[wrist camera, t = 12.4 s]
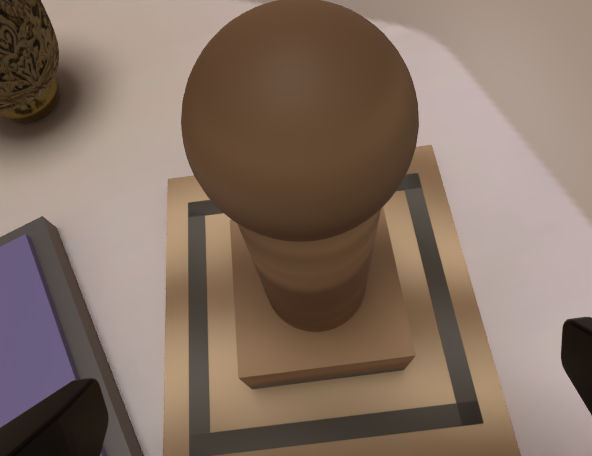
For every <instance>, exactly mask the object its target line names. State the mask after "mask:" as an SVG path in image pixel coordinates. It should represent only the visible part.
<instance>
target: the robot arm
mask: <svg viewBox="0 0 592 456" xmlns="http://www.w3.org/2000/svg"><path fill="white" fill-rule="evenodd" d="M561 361H562V365H563V368H564V370H565V372H566V373H567V375H568V377H569V378H570V380H571V382H572V383H573V385H574V387H575V388H576V390H577V392H578V393H579V395H580V397H581V398H582V400H583V402H584V403H585V405H586V406H587V408H588V410H589V411H590V413H591V415H592V318H591V317H581V318H573V319H568V320H566V321H565V322H564V324H563V331H562V347H561ZM108 422H109V415H108V410H107V407H106V403H105V400H104V397H103V394H102V390H101V387H100V384H99V382H98V381H97V379H95V378H84V379H76V380H73V381H71V382H70V383H68V384H66V385H65V386H63V387H62V388H60V389H59V390H57V391H56V392H54V393H53V394H51V395H50V396H48V397H47V398H45V399H43V400H42V401H40V402H39V403H37V404H36V405H34V406H33V407H31V408H30V409H28V410H27V411H25V412H23V413H22V414H20V415H19V416H17V417H16V418H14V419H13V420H11V421H10V422H8V423H7V424H5V425H3V426H2V427H0V456H100V454H101V450H102V447H103V443H104V439H105V435H106V431H107V428H108Z"/></svg>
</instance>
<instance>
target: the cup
mask: <svg viewBox="0 0 592 456" xmlns="http://www.w3.org/2000/svg"><path fill="white" fill-rule="evenodd" d="M58 59H59V50H58V43H57V39H56V35H55V32H54V29H53V27H52V24H51V22H50V19H49V17H48V15H47V13H46V11H45V8H44V6H43V4H42V2H41V0H0V116H1V117H3V118H5V119H8V120H11V121H14V122H30V121H34V120H37V119H39V118H41V117H43V116H44V115H46V114H47V113H49V112H50V111H51V110H52V109H53V107H54V106H55V105H56V103H57V101H58V98H59V84H58V80H57V77H56V76H55V73H56V70H57V67H58Z"/></svg>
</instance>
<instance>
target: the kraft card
mask: <svg viewBox="0 0 592 456" xmlns="http://www.w3.org/2000/svg"><path fill="white" fill-rule="evenodd" d="M383 208H384V212H385V217H386V221H387V226H388V231H389V235H390V240H391V244H392V249H393V253H394V258H395V262H396V267H397V271H398V276H399V280H400V285H401V290H402V294H403V299H404V303H405V308H406V312H407V317H408V321H409V326H410V330H411V335H412V339H413V344H414V349H415V353H416V356H415V357H414V359H413V360H412V361H411V362H410V363H409V365H408V366H407V367H406V368H405V369H404V370H401V371H393V372H386V373H378V374H370V375H362V376H354V377H346V378H338V379H330V380H322V381H314V382H306V383H298V384H290V385H282V386H274V387H266V388H258V389H251V388H250V387H249V386H247V385H246V384H245V383H244V382H243V381H241V380H240V379H239V378H238V363H237V345H236V326H235V308H234V289H233V271H232V252H231V234H230V220H231V219H230V218H229V217H228V216H227V215H225V214H224V213H223V212H222V211H221V210H220V209H219V208H217V207H216V206H215V204H214V203H213V202H212V201H211V200H210V199H209V198H208V197H207V195H206V194H205V192H204V191H203V189H202V187H201V186H200V184H199V183H198V181H197V180H196V178H195V176H188V177H180V178H172V179H168V203H167V262H166V321H165V380H164V439H163V456H521V455H520V452H519V448H518V445H517V441H516V438H515V434H514V431H513V427H512V424H511V420H510V417H509V413H508V410H507V406H506V403H505V399H504V396H503V392H502V389H501V385H500V382H499V378H498V375H497V371H496V368H495V364H494V361H493V357H492V354H491V350H490V347H489V343H488V340H487V336H486V333H485V329H484V326H483V322H482V319H481V315H480V312H479V308H478V305H477V302H476V298H475V295H474V291H473V288H472V284H471V281H470V277H469V274H468V270H467V267H466V263H465V260H464V256H463V253H462V249H461V246H460V242H459V239H458V235H457V232H456V228H455V225H454V221H453V218H452V214H451V211H450V207H449V204H448V200H447V197H446V193H445V190H444V186H443V183H442V179H441V176H440V172H439V169H438V165H437V162H436V158H435V155H434V151H433V148H432V145H427V146H419V147H416V149H415V152H414V155H413V158H412V162H411V164H410V167H409V169H408V171H407V173H406V175H405V177H404V179H403V182H402V183H401V184H400V186H399V187H398V189H397V190H396V192H395V193H394V195H393V196H392V197H391V199H390V200H389V201H388V202H387V203H386V204H385V205H384V206H383Z"/></svg>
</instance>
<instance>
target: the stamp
mask: <svg viewBox="0 0 592 456" xmlns="http://www.w3.org/2000/svg"><path fill="white" fill-rule="evenodd" d="M181 126H182V137H183V144H184V148H185V152H186V156H187V159H188V162H189V164H190V167H191V169H192V172H193V174H194V176H195V178H196V180H197V181H198V183H199V184H200V186H201V187H202V189H203V191H204V192H205V194H206V195H207V197H208V198H209V199H210V200H211V201H212V202H213V203H214V204H215V206H216V207H217V208H219V209H220V210H221V211H222V212H223V213H224V214H225V215H227V216H228V217H229V218H230V219H231V220H230V234H231V252H232V271H233V289H234V308H235V326H236V345H237V363H238V378H239V379H240V380H241V381H243V382H244V383H245V384H246V385H247V386H249V387H250V388H251V389H258V388H266V387H274V386H282V385H290V384H298V383H306V382H314V381H322V380H330V379H338V378H346V377H354V376H362V375H370V374H378V373H386V372H393V371H401V370H404V369H405V368H406V367H407V366H408V365H409V363H410V362H411V361H412V360H413V359H414V357H415V356H416V353H415V349H414V344H413V339H412V335H411V330H410V326H409V321H408V317H407V312H406V308H405V303H404V299H403V294H402V290H401V285H400V280H399V276H398V271H397V267H396V262H395V258H394V253H393V249H392V244H391V240H390V235H389V231H388V226H387V221H386V217H385V212H384V208H383V206H384V205H385V204H386V203H387V202H388V201H389V200H390V199H391V197H392V196H393V195H394V193H395V192H396V190H397V189H398V187H399V186H400V184H401V183H402V182H403V179H404V177H405V175H406V173H407V171H408V169H409V167H410V164H411V162H412V158H413V155H414V152H415V149H416V142H417V135H418V128H419V119H418V102H417V97H416V92H415V88H414V85H413V81H412V78H411V76H410V73H409V70H408V68H407V66H406V64H405V63H404V61H403V59H402V57H401V55H400V54H399V52H398V50H397V49H396V48H395V46H394V45H393V44H392V43H391V41H390V40H389V39H388V38H387V37H386V36H385V34H384V33H383V32H382V31H380V30H379V29H378V28H377V27H376V26H375V25H374V24H372V23H371V22H369V21H368V20H367V19H365V18H364V17H362V16H361V15H359V14H357V13H355V12H354V11H352V10H350V9H348V8H345V7H343V6H340V5H337V4H333V3H330V2H326V1H321V0H278V1H273V2H270V3H266V4H263V5H260V6H258V7H255V8H253V9H251V10H249V11H247V12H245V13H243V14H241V15H240V16H238V17H237V18H235V19H233V20H232V21H230V22H229V23H228V24H227V25H225V26H224V27H223V28H222V29H221V30H220V31H219V32H218V33H217V34H216V35H215V36H214V37H213V38H212V39H211V40H210V42H209V43H208V44H207V45H206V47H205V48H204V49H203V51H202V52H201V54H200V56H199V57H198V59H197V61H196V63H195V65H194V67H193V69H192V71H191V73H190V76H189V78H188V82H187V85H186V89H185V93H184V97H183V104H182V117H181Z"/></svg>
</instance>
